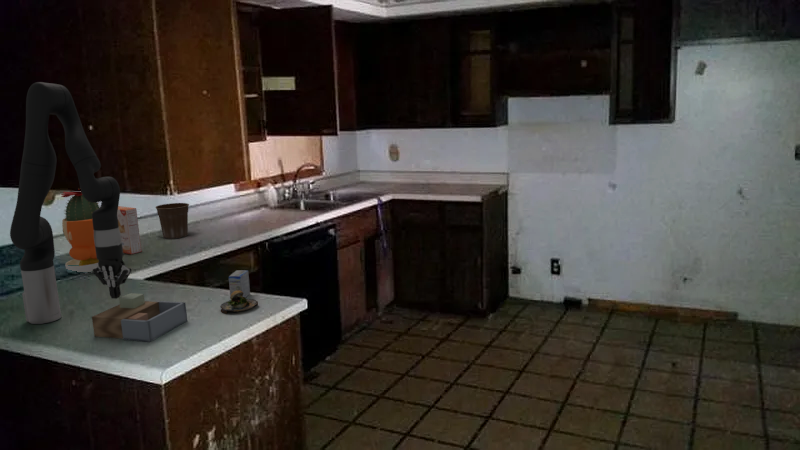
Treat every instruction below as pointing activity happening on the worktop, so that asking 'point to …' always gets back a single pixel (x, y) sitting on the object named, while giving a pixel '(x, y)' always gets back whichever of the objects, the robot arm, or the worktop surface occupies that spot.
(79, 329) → the worktop surface
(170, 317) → the tray
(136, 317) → the tile terracotta
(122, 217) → the cracker box
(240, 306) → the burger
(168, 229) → the plant pot
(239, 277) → the medicine box
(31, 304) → the robot arm
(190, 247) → the worktop surface
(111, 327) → the wooden block
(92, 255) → the potted cactus
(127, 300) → the tile sage
